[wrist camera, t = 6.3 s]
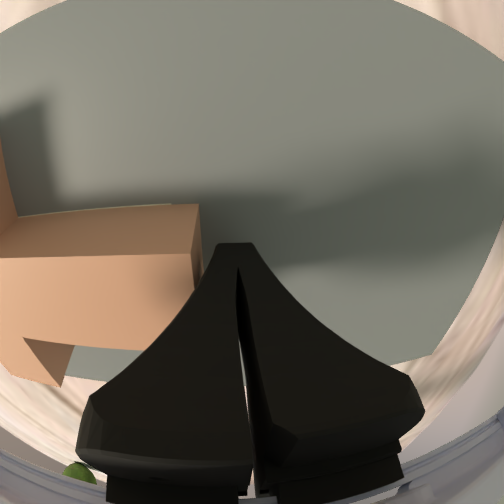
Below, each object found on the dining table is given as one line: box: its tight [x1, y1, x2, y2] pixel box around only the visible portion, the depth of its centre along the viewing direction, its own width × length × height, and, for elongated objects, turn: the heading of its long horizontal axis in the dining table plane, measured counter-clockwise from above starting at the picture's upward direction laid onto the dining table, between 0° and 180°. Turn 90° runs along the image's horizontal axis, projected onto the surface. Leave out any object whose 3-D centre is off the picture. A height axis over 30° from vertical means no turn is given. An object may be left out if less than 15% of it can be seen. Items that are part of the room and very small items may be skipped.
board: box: [0, 0, 504, 386], centre depth 11 cm, size 20×34×1 cm, turn 88°
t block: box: [0, 139, 204, 387], centre depth 9 cm, size 12×12×3 cm
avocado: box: [62, 463, 97, 485], centre depth 33 cm, size 8×8×12 cm
